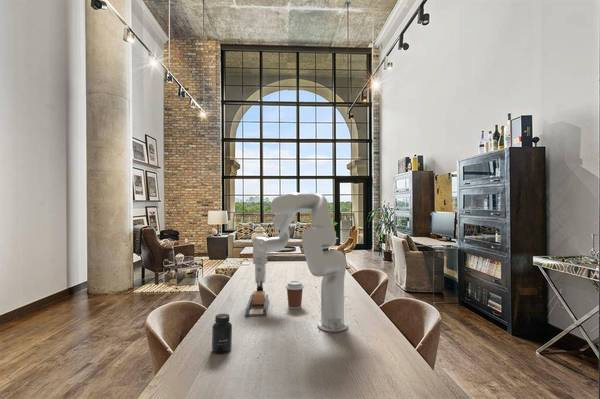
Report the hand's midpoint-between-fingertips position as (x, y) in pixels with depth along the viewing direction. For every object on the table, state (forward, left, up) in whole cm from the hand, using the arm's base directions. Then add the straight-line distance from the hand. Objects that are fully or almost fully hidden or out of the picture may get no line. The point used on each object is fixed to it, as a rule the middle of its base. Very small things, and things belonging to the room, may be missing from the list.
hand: (259, 295), depth 174 cm
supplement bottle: (-58, +9, -3) cm, 58 cm away
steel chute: (-14, 0, -3) cm, 14 cm away
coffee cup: (-12, -18, -3) cm, 22 cm away
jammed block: (-8, 0, -1) cm, 9 cm away
